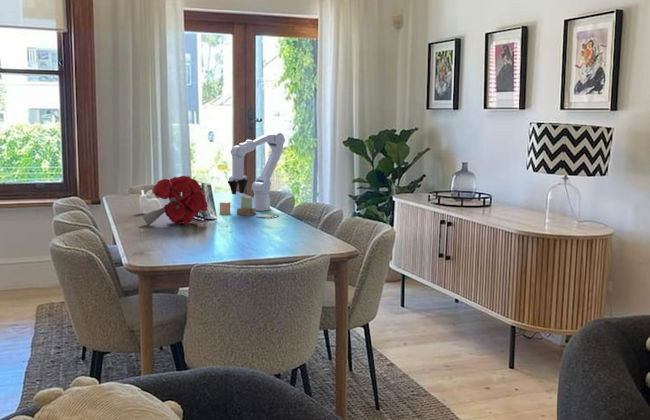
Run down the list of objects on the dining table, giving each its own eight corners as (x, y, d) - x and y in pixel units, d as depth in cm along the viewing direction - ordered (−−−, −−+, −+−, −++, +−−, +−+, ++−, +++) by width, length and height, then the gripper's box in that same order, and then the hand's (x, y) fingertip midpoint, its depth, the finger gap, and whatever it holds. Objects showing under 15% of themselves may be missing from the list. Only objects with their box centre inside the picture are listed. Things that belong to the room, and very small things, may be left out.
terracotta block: (223, 212, 342) (224, 201, 341) (230, 213, 340) (230, 202, 339) (219, 213, 338) (219, 202, 337) (226, 214, 336) (226, 203, 336)
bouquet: (160, 244, 287) (218, 209, 295) (132, 198, 281) (192, 164, 289) (155, 238, 307) (209, 206, 315) (128, 196, 301) (184, 164, 309)
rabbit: (139, 214, 327) (139, 190, 326) (138, 211, 336) (138, 188, 334) (163, 214, 331) (163, 190, 329) (162, 211, 340) (162, 188, 338)
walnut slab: (244, 213, 344) (244, 207, 344) (255, 214, 341) (255, 208, 341) (237, 215, 338) (237, 208, 337) (248, 216, 335) (248, 209, 334)
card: (265, 215, 338) (265, 213, 338) (279, 216, 335) (279, 215, 335) (255, 217, 329) (255, 216, 329) (269, 219, 326) (269, 217, 326)
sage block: (246, 207, 342) (246, 196, 341) (252, 208, 340) (252, 196, 339) (241, 208, 339) (241, 196, 338) (246, 208, 336) (246, 197, 336)
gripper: (239, 167, 351) (238, 191, 353) (224, 168, 338) (223, 194, 340) (250, 167, 348) (249, 192, 350) (235, 169, 335) (235, 195, 337)
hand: (237, 193), depth 345 cm, fingers open, 7 cm apart
